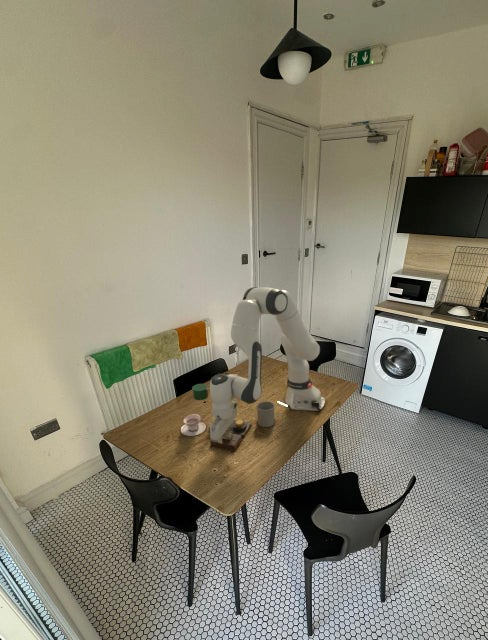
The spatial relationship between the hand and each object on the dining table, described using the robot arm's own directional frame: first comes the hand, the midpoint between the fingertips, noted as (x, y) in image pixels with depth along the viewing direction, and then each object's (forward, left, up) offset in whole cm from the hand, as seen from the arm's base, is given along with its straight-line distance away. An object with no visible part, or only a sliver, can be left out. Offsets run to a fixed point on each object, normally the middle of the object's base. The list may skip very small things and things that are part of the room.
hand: (225, 436), depth 146 cm
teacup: (+20, -5, -4) cm, 21 cm away
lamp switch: (-2, -11, -1) cm, 11 cm away
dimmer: (0, 0, -4) cm, 4 cm away
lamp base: (+3, -11, -4) cm, 12 cm away
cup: (-12, -21, -4) cm, 25 cm away
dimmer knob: (0, 0, -1) cm, 1 cm away
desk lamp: (+13, -11, -1) cm, 17 cm away
